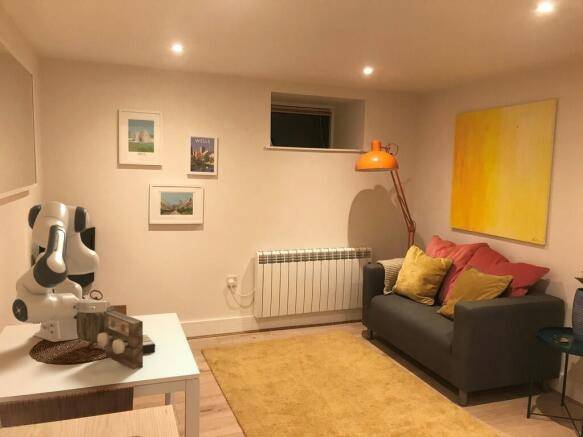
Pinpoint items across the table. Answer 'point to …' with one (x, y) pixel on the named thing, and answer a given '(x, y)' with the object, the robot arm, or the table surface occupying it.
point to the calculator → (148, 345)
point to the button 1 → (103, 339)
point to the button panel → (125, 339)
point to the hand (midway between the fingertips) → (100, 303)
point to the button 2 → (119, 346)
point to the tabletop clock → (91, 323)
